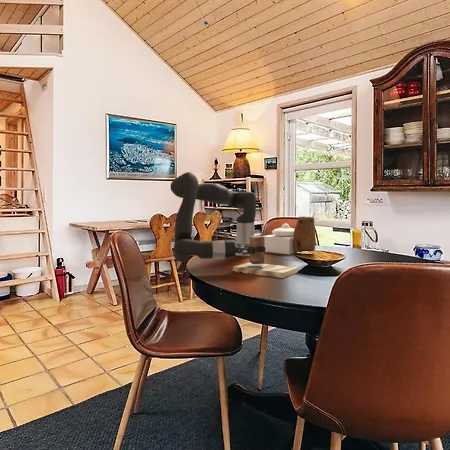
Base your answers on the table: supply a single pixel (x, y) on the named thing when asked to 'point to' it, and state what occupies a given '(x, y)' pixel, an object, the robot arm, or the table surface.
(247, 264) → the board
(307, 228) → the brown plush animal
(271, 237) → the white lidded container
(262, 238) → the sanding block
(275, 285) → the table surface
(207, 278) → the table surface
